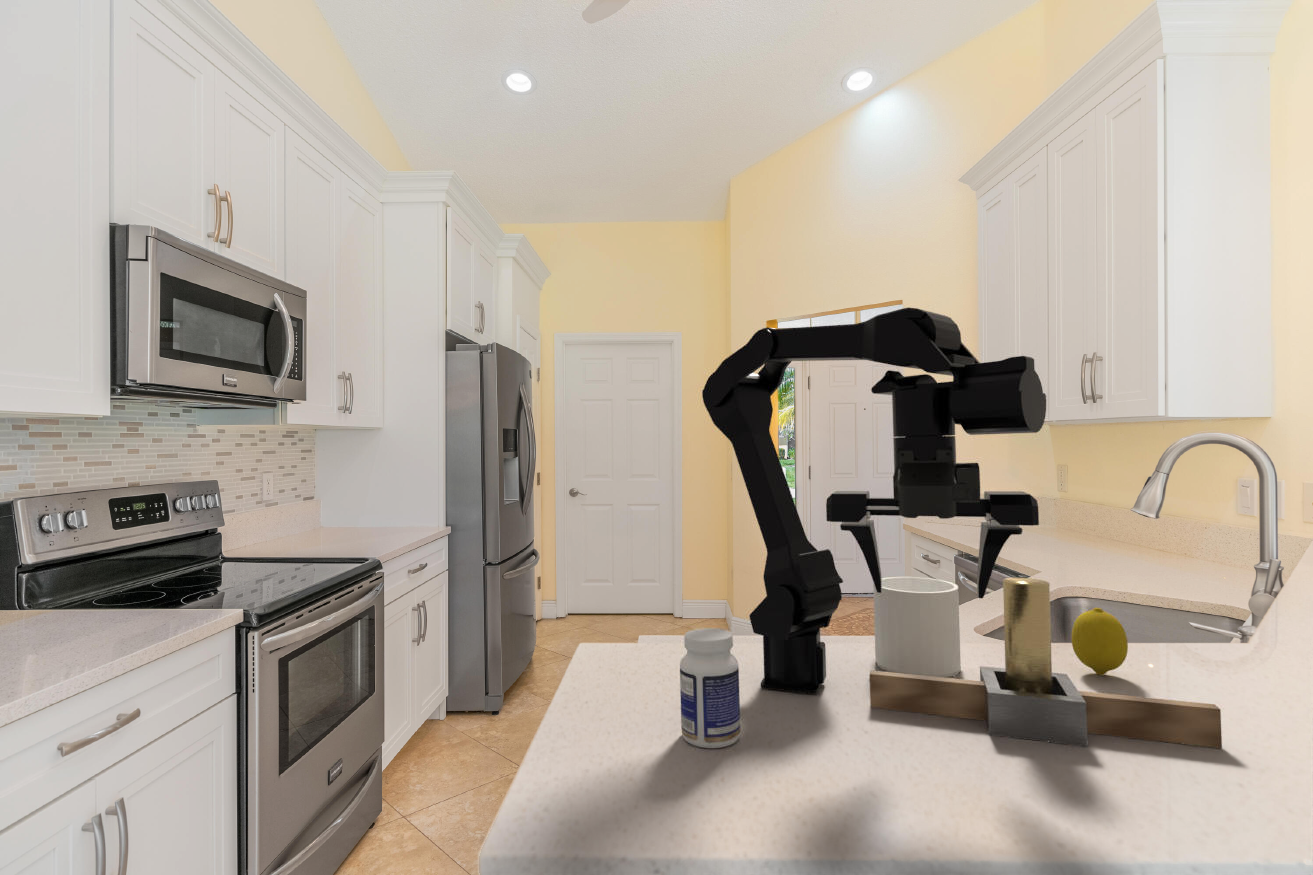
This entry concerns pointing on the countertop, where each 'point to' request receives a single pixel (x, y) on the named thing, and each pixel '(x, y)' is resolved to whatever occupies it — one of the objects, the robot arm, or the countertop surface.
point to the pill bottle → (709, 689)
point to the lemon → (1099, 641)
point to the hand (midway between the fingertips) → (928, 594)
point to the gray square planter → (1035, 710)
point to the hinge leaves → (1102, 709)
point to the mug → (917, 626)
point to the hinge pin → (1027, 635)
